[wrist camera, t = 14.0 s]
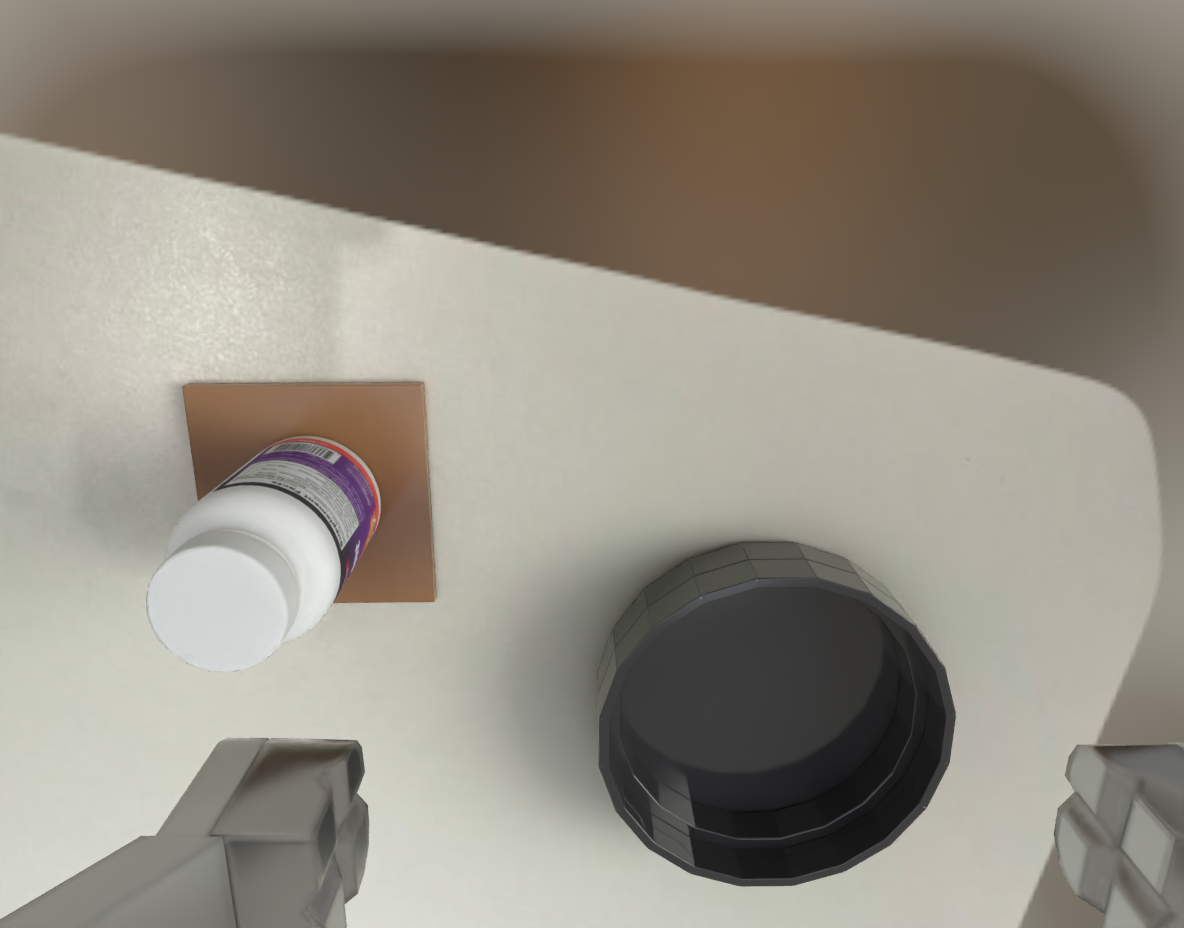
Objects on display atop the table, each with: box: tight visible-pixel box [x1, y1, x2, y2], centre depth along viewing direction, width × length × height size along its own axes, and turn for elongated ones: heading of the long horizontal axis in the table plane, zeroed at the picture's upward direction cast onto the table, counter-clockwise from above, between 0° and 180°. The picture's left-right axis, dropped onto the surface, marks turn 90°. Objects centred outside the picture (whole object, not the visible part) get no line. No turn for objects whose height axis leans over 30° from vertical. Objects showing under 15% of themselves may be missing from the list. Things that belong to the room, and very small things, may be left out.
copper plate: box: [182, 382, 436, 603], centre depth 34 cm, size 9×9×1 cm
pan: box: [597, 542, 956, 886], centre depth 35 cm, size 14×14×4 cm
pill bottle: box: [146, 436, 381, 672], centre depth 29 cm, size 5×5×10 cm
